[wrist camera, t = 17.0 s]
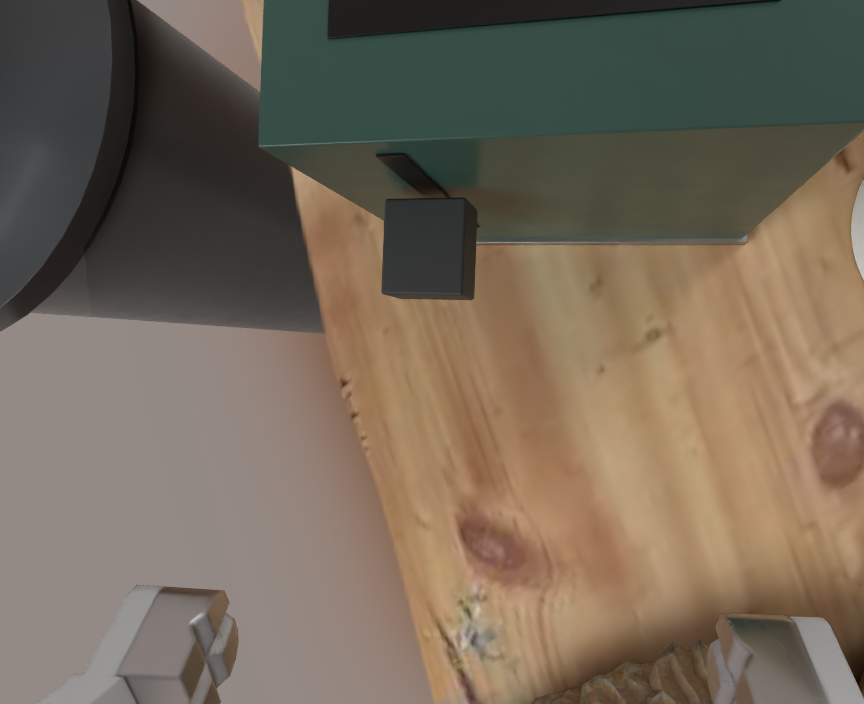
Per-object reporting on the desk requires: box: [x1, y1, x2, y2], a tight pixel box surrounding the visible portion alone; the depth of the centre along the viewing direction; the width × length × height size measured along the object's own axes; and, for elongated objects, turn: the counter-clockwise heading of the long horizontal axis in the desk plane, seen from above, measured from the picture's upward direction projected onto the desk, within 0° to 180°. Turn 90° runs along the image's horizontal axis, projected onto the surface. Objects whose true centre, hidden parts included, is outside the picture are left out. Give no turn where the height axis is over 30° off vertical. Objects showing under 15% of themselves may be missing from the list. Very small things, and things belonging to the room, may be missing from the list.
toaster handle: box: [382, 197, 477, 300], centre depth 23 cm, size 3×3×2 cm
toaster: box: [258, 0, 864, 245], centre depth 24 cm, size 8×15×16 cm, turn 88°
